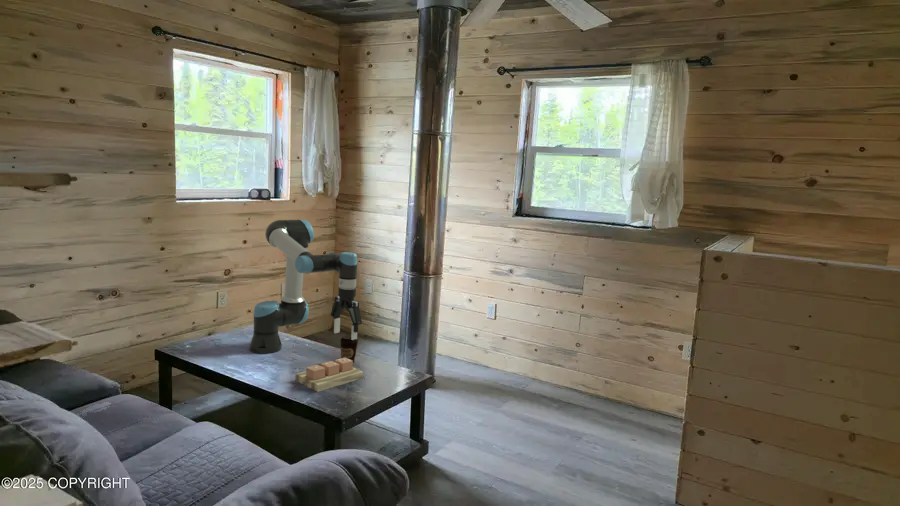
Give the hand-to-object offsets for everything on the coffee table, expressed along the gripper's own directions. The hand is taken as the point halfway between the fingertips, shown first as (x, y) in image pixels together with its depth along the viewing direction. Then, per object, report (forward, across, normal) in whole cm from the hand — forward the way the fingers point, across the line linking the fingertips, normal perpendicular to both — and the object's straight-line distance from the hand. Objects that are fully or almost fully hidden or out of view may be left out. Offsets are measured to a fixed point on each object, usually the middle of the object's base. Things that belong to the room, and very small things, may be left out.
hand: (345, 335), depth 245 cm
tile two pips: (+16, 0, -8) cm, 18 cm away
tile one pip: (+16, 0, -15) cm, 22 cm away
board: (+18, 0, -8) cm, 20 cm away
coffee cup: (+18, -11, +11) cm, 24 cm away
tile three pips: (+16, 0, 0) cm, 16 cm away
